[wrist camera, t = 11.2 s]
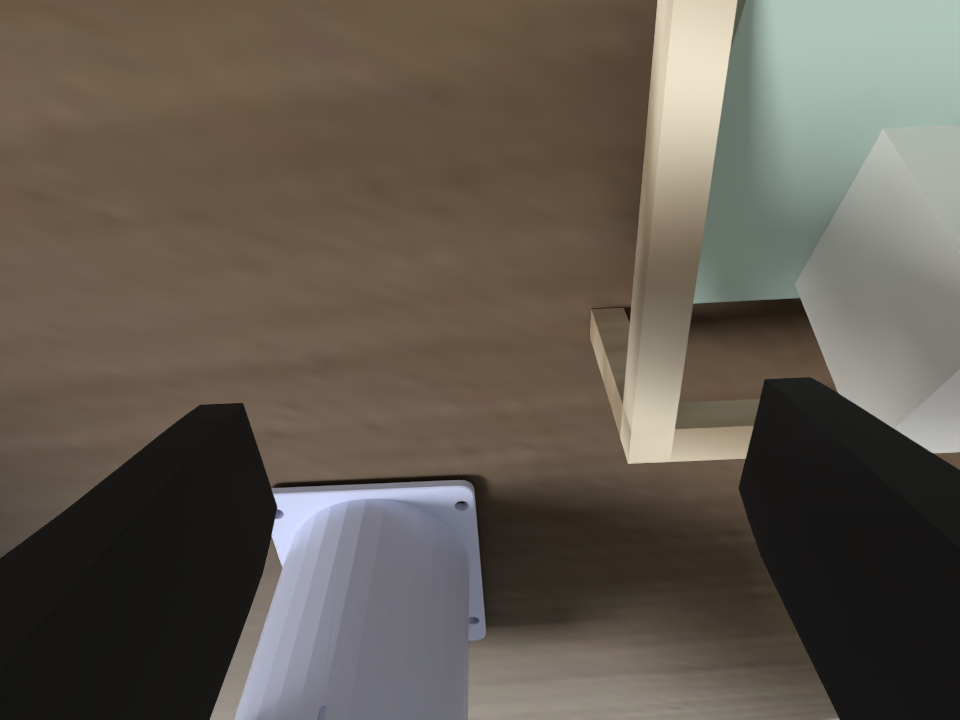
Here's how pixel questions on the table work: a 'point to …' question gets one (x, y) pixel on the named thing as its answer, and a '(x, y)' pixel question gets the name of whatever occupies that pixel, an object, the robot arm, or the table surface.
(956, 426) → the white cube
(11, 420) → the table surface
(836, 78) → the trapdoor
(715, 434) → the trapdoor frame
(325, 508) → the robot arm
